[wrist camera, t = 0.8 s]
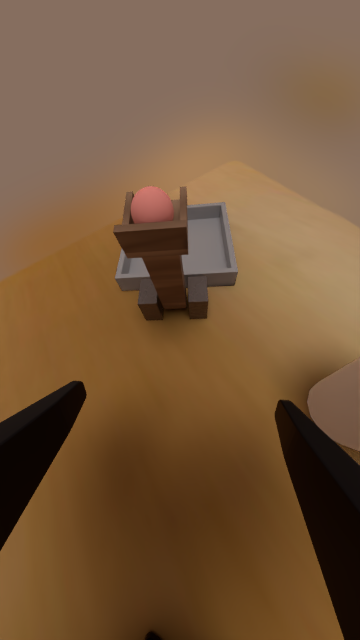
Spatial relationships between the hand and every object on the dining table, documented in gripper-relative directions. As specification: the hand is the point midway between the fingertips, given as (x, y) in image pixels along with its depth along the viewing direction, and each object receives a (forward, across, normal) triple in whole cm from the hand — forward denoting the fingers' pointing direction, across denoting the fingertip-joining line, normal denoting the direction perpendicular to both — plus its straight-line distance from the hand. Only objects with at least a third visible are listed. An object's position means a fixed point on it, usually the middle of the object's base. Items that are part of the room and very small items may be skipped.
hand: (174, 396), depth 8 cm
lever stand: (+19, +3, +3) cm, 20 cm away
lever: (+19, +3, +2) cm, 20 cm away
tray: (+29, +4, -4) cm, 30 cm away
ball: (+9, +3, -8) cm, 12 cm away
